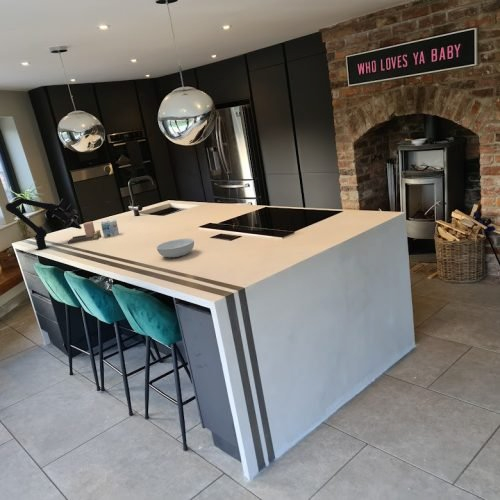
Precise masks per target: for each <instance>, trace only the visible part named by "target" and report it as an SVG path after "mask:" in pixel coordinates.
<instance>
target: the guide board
mask: <svg viewBox="0 0 500 500" xmlns="http://www.w3.org/2000/svg"><path fill="white" fill-rule="evenodd" d="M101 237H102V233H101V230H100V229H97V230H96V231H95V233H94V234H93V236H91V237H86V234H84V235H76V236H72V238H70V239H69V240H67V242H66V243H67V244H68V245H69V244H70V245H71V244H76V243H83V242H89V241H95V240H96V241H97V240H99V239H100V238H101Z"/></svg>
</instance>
